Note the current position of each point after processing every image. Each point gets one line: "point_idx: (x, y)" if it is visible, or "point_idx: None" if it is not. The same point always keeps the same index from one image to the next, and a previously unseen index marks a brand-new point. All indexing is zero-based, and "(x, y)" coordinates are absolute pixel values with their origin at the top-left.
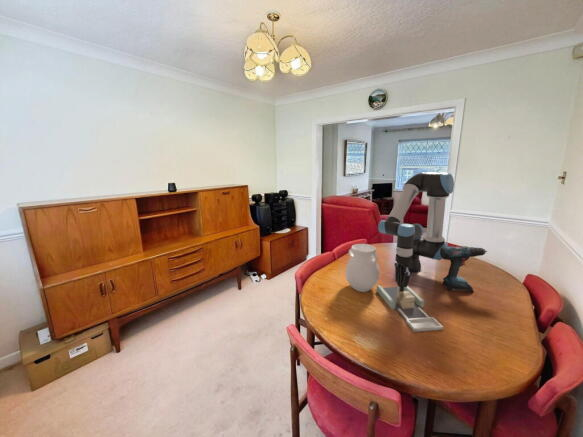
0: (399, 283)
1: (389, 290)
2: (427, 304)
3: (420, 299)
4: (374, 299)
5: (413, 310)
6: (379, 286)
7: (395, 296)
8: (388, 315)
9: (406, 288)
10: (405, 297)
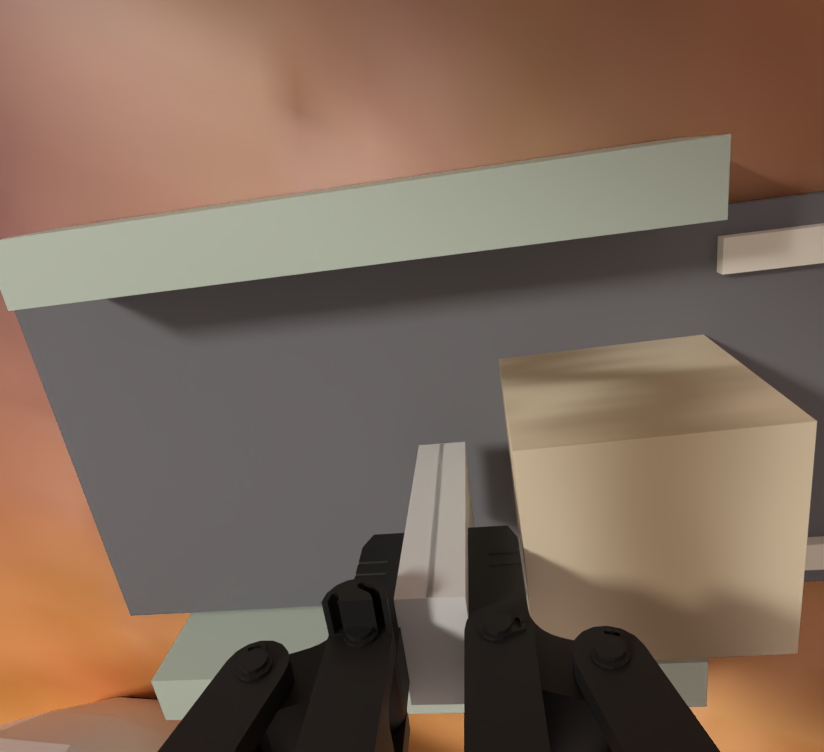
0: (404, 710)
1: (176, 498)
2: (591, 8)
3: (656, 194)
4: (424, 722)
5: (772, 371)
6: (195, 701)
7: (352, 478)
8: (793, 694)
9: (174, 286)
10: (784, 610)
